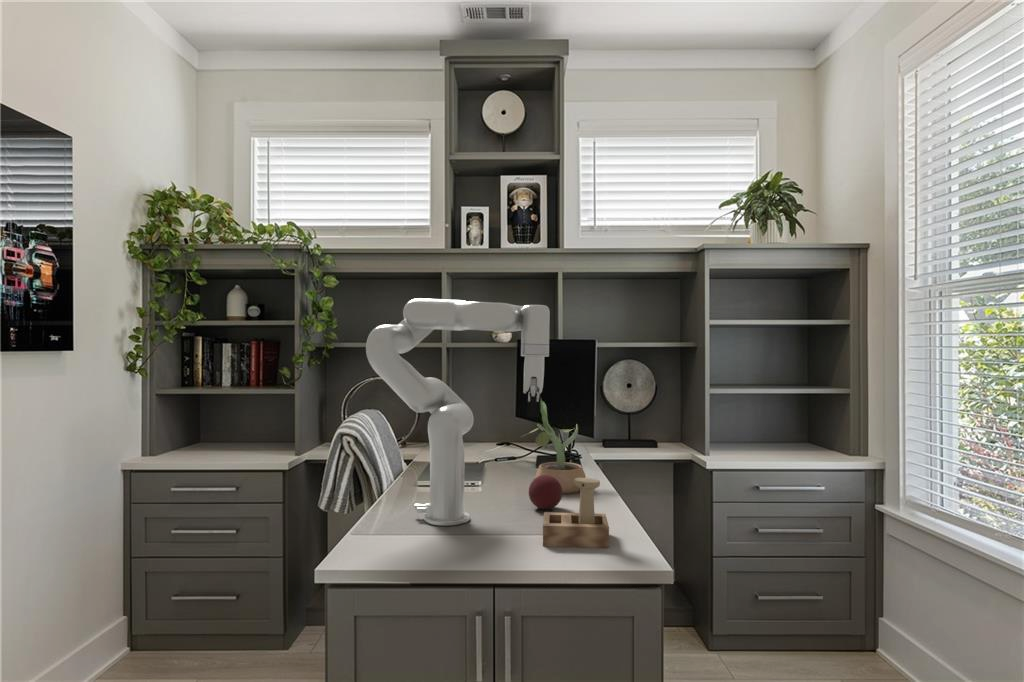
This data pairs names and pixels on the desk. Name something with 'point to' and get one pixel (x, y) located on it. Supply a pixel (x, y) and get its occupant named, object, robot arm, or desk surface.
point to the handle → (587, 499)
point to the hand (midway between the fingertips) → (533, 414)
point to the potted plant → (558, 456)
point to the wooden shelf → (574, 531)
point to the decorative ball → (545, 492)
